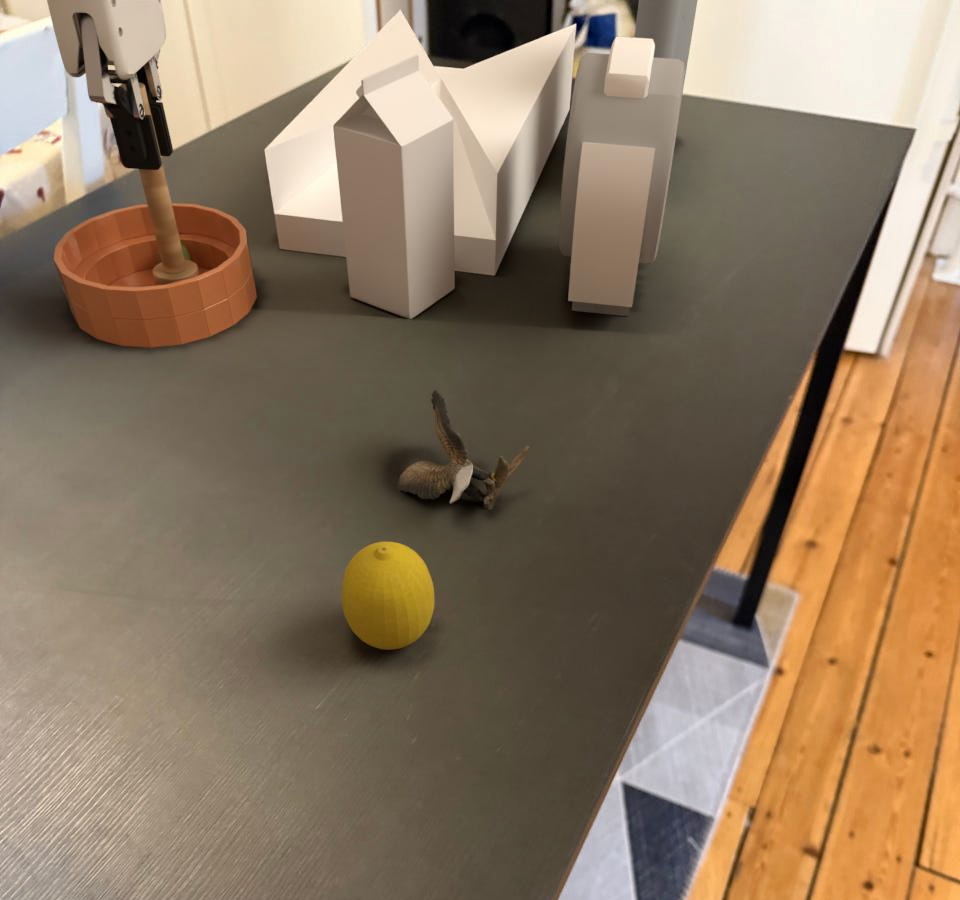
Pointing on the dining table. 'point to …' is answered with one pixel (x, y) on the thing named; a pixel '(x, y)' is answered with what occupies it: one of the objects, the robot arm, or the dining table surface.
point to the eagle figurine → (455, 467)
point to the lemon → (387, 595)
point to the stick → (164, 221)
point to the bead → (185, 253)
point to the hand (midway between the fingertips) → (148, 159)
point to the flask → (667, 27)
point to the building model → (476, 142)
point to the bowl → (130, 282)
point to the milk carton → (397, 191)
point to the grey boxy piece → (617, 170)
